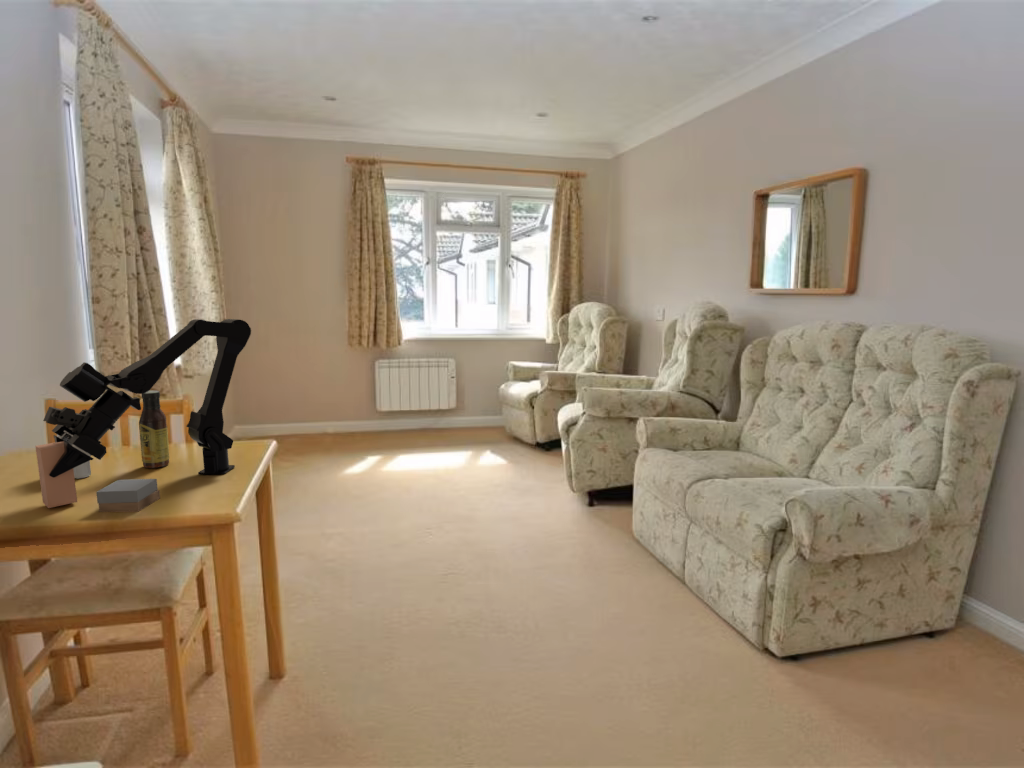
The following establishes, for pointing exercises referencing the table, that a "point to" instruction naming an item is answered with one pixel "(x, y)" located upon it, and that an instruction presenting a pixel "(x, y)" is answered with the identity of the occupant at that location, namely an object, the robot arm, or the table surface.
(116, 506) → the walnut slab
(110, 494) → the slate slab
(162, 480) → the table surface
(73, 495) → the terracotta pillar
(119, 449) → the table surface
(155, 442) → the sauce bottle
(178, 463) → the table surface
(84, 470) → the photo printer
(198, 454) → the table surface
